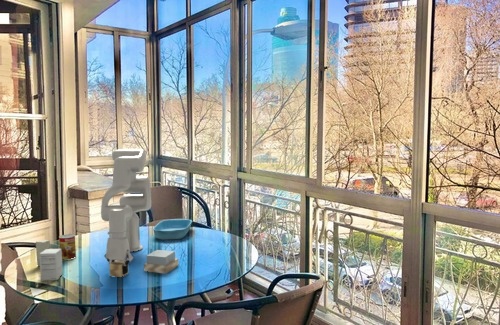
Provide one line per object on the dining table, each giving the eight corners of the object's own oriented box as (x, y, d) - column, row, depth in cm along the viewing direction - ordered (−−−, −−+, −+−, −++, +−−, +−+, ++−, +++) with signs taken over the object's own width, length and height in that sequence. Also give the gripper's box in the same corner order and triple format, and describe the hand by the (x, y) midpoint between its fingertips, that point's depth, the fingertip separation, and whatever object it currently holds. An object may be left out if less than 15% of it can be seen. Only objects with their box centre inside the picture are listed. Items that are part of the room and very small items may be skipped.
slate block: (146, 263, 192) (146, 255, 192) (157, 257, 202) (156, 249, 201) (165, 265, 189) (165, 257, 189) (175, 259, 199) (174, 251, 198)
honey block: (109, 276, 185) (109, 263, 185) (117, 272, 191) (117, 260, 190) (120, 277, 183) (120, 265, 183) (128, 273, 189) (128, 261, 188)
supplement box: (47, 275, 188) (45, 248, 187) (63, 274, 188) (62, 248, 188) (40, 280, 180) (38, 253, 180) (57, 280, 181) (55, 252, 180)
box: (51, 265, 202) (50, 240, 202) (44, 267, 198) (43, 242, 197) (43, 264, 204) (42, 239, 203) (36, 266, 200) (35, 241, 199)
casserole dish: (162, 228, 281) (162, 218, 281) (194, 227, 281) (194, 217, 281) (149, 242, 244) (149, 230, 244) (185, 241, 244) (185, 230, 244)
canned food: (69, 260, 209) (68, 238, 208) (56, 259, 211) (55, 237, 210) (79, 256, 217) (78, 234, 216) (66, 255, 218) (65, 233, 218)
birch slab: (144, 272, 192) (144, 264, 192) (157, 264, 203) (157, 256, 203) (166, 274, 188) (166, 266, 188) (178, 266, 200) (178, 258, 199)
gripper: (97, 235, 185) (98, 273, 186) (128, 238, 179) (130, 277, 180) (107, 231, 192) (109, 268, 193) (138, 234, 186) (139, 271, 188)
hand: (119, 272), depth 187 cm, fingers closed on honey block, 6 cm apart
